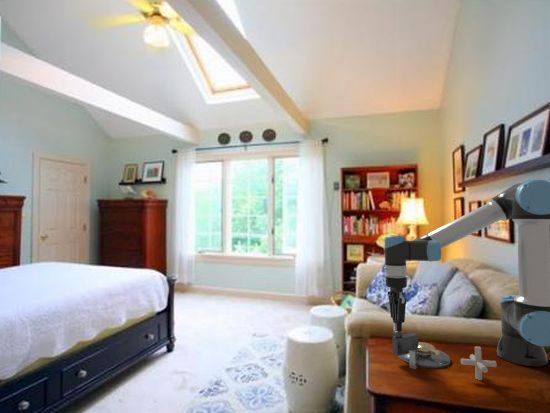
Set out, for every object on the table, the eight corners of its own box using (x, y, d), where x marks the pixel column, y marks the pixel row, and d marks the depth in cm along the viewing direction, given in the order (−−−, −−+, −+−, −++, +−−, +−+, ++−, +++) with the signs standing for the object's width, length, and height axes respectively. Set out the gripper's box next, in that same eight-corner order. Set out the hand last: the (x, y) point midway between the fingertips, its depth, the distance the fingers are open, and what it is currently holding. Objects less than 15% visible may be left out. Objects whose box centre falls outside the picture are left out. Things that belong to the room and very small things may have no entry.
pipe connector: (503, 387, 102) (502, 354, 103) (467, 384, 104) (466, 352, 105) (489, 373, 112) (488, 342, 113) (456, 370, 114) (456, 340, 115)
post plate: (460, 360, 122) (459, 343, 123) (425, 374, 111) (425, 356, 112) (416, 345, 138) (416, 330, 138) (382, 356, 127) (382, 340, 127)
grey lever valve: (417, 341, 133) (416, 321, 133) (445, 353, 121) (444, 330, 121) (382, 348, 126) (382, 326, 126) (409, 361, 114) (408, 337, 114)
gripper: (380, 273, 133) (382, 334, 132) (392, 279, 120) (394, 346, 119) (399, 273, 133) (401, 333, 132) (413, 278, 120) (415, 345, 119)
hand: (398, 339), depth 125 cm, fingers closed
